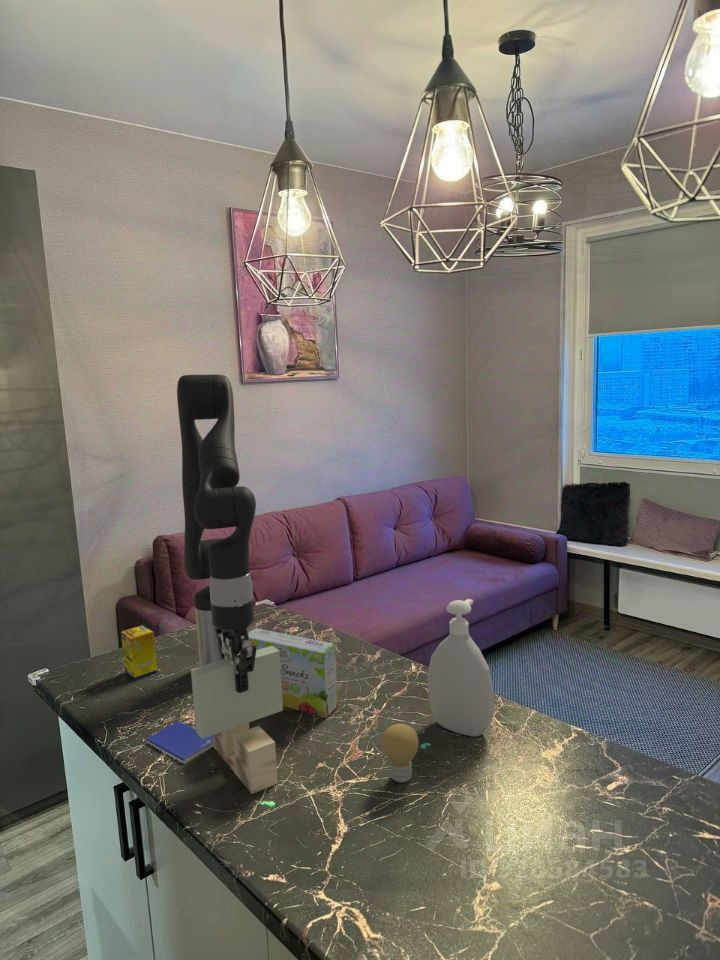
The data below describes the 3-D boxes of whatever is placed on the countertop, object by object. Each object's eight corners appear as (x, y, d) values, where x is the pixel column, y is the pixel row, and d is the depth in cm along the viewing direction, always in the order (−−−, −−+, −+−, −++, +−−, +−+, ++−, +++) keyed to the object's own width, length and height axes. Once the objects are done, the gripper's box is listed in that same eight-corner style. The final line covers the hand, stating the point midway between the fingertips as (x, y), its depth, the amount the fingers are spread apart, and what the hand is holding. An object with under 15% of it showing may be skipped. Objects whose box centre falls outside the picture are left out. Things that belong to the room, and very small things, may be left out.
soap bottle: (503, 728, 131) (503, 600, 126) (485, 747, 124) (484, 613, 120) (441, 708, 140) (438, 587, 135) (420, 725, 133) (418, 599, 129)
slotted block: (213, 746, 128) (210, 709, 127) (237, 738, 131) (234, 701, 129) (251, 794, 113) (248, 752, 112) (277, 783, 116) (275, 742, 115)
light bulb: (425, 773, 117) (424, 722, 116) (409, 793, 112) (408, 740, 110) (393, 763, 120) (392, 713, 119) (376, 783, 115) (375, 731, 113)
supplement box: (124, 673, 162) (120, 631, 160) (147, 665, 166) (143, 624, 164) (134, 681, 157) (130, 638, 155) (157, 672, 161) (153, 630, 159)
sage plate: (196, 731, 117) (190, 669, 116) (276, 704, 126) (272, 645, 124) (202, 738, 115) (196, 675, 113) (283, 710, 124) (279, 650, 122)
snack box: (245, 699, 147) (240, 635, 144) (260, 687, 152) (256, 626, 149) (326, 719, 137) (323, 651, 134) (339, 706, 142) (336, 641, 139)
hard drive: (218, 739, 129) (180, 720, 137) (183, 758, 123) (145, 738, 130) (218, 746, 129) (180, 727, 137) (184, 766, 123) (146, 745, 131)
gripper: (197, 591, 120) (205, 679, 123) (227, 613, 109) (234, 709, 112) (235, 583, 124) (241, 668, 127) (268, 603, 113) (274, 696, 116)
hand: (238, 687), depth 119 cm, fingers closed on sage plate, 3 cm apart
